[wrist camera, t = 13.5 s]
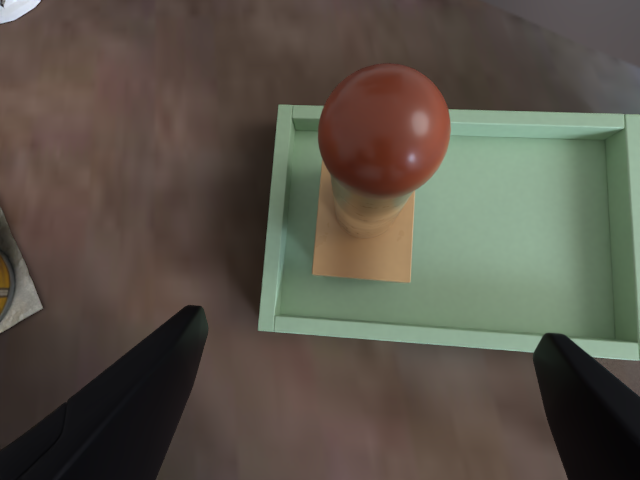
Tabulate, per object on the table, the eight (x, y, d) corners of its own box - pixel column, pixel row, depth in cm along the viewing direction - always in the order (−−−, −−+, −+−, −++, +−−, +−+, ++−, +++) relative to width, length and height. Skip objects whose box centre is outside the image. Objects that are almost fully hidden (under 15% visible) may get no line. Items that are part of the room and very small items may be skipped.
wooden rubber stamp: (405, 170, 20) (503, -35, 8) (399, 284, 19) (499, 265, 7) (327, 165, 20) (298, -38, 8) (317, 278, 19) (267, 247, 7)
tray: (611, 132, 20) (641, 113, 18) (623, 354, 18) (658, 362, 16) (284, 122, 22) (278, 103, 20) (266, 327, 20) (257, 330, 18)
